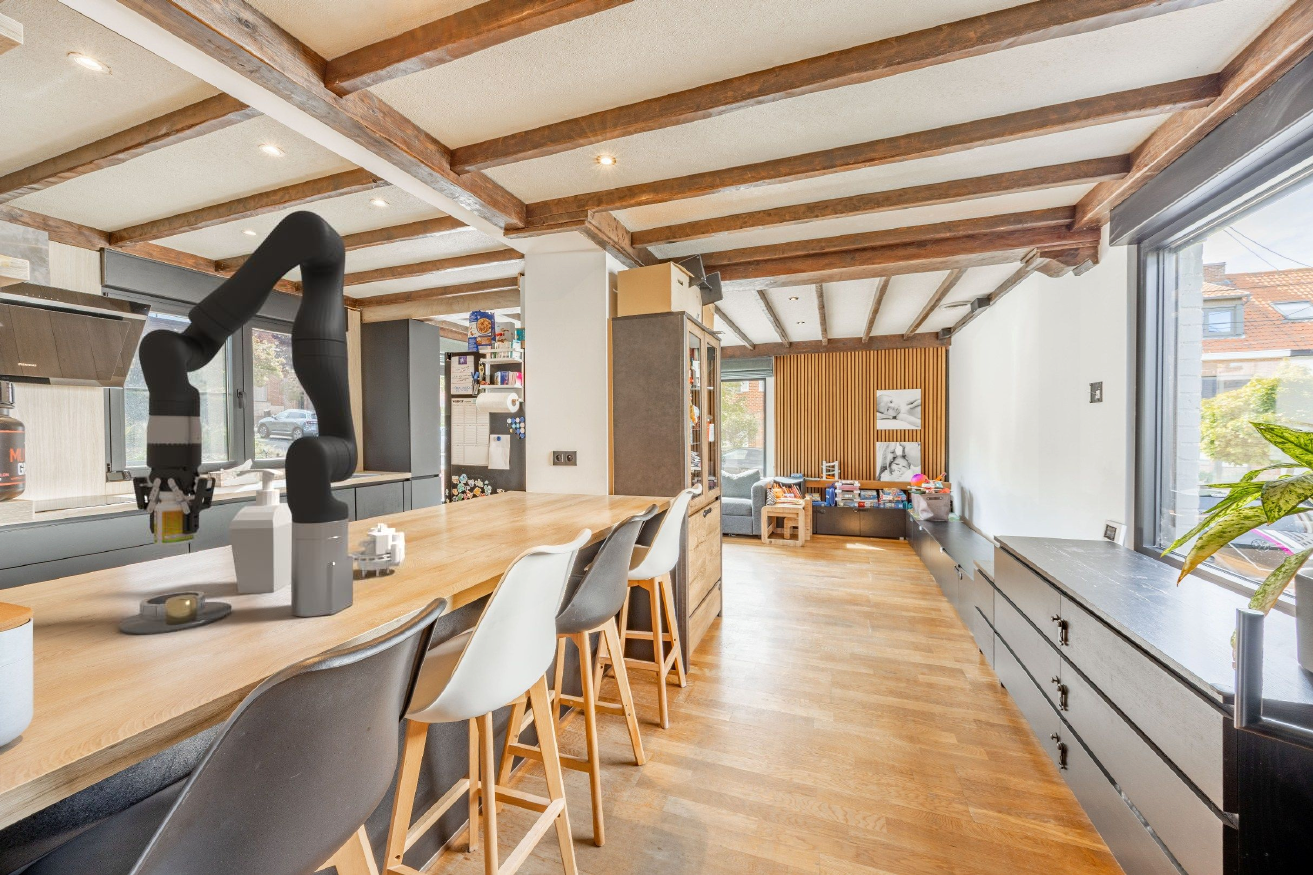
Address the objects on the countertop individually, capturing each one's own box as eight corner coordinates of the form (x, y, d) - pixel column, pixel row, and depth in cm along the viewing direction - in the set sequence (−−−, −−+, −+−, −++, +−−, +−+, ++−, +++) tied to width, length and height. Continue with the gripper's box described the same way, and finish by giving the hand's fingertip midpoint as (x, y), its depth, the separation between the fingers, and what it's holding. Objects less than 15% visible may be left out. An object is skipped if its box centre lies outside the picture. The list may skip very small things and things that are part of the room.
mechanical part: (353, 570, 131) (353, 522, 131) (406, 566, 136) (406, 520, 136) (344, 582, 121) (344, 530, 121) (402, 577, 125) (403, 527, 125)
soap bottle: (253, 580, 121) (254, 467, 121) (302, 579, 123) (302, 467, 123) (218, 596, 109) (219, 471, 109) (273, 594, 111) (273, 471, 111)
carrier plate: (252, 606, 103) (252, 582, 103) (179, 635, 88) (179, 606, 88) (178, 604, 104) (178, 580, 104) (93, 633, 89) (93, 604, 89)
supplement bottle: (201, 541, 100) (201, 489, 100) (172, 547, 95) (173, 492, 95) (175, 540, 101) (176, 489, 101) (145, 546, 95) (145, 492, 95)
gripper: (229, 441, 101) (229, 530, 101) (157, 440, 102) (157, 528, 102) (193, 442, 93) (192, 538, 94) (116, 441, 94) (115, 536, 94)
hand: (174, 532), depth 98 cm, fingers closed on supplement bottle, 5 cm apart
